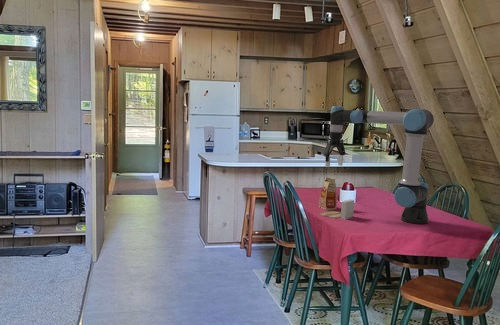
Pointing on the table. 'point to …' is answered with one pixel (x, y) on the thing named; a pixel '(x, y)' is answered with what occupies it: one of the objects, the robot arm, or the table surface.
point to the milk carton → (328, 195)
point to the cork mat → (331, 214)
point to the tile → (347, 209)
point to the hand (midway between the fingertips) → (333, 166)
